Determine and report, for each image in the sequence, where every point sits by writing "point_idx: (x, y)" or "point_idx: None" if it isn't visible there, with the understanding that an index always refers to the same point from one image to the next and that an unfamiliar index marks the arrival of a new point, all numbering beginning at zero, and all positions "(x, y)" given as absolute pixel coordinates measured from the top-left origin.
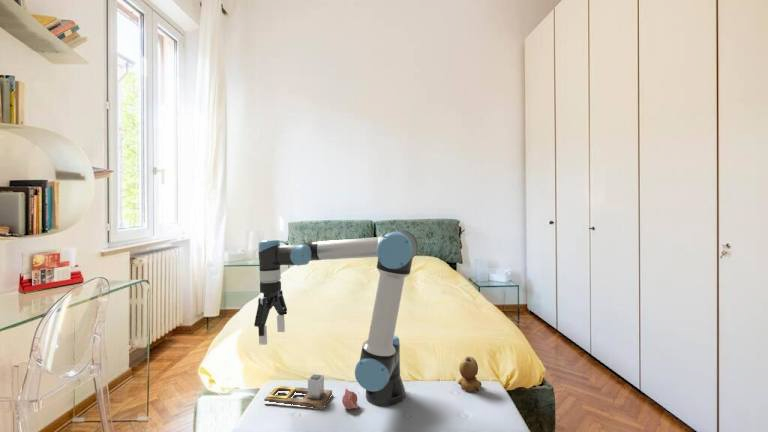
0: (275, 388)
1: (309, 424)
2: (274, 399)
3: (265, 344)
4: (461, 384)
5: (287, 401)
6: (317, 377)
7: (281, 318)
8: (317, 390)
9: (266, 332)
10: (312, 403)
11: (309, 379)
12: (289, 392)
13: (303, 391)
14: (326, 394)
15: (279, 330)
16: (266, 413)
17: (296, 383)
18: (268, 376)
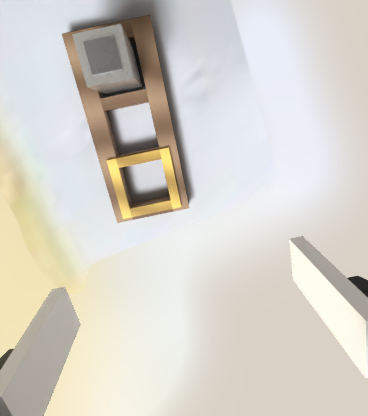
0: (136, 214)
1: (229, 15)
2: (182, 179)
3: (303, 240)
4: None
5: (174, 139)
6: (108, 41)
7: (26, 382)
8: (128, 43)
9: (334, 280)
10: (157, 54)
11: (128, 71)
12: (139, 160)
13: (108, 129)
14: None
15: (72, 320)
16: (222, 168)
17: (60, 196)
18: None
